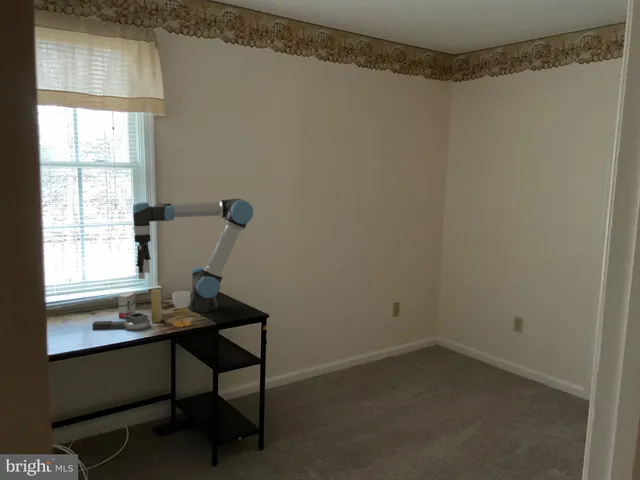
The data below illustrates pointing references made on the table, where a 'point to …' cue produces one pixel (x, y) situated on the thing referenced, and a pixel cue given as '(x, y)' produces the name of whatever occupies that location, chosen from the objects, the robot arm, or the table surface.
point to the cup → (181, 305)
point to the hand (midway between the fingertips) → (144, 275)
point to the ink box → (126, 304)
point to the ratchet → (125, 323)
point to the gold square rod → (156, 305)
